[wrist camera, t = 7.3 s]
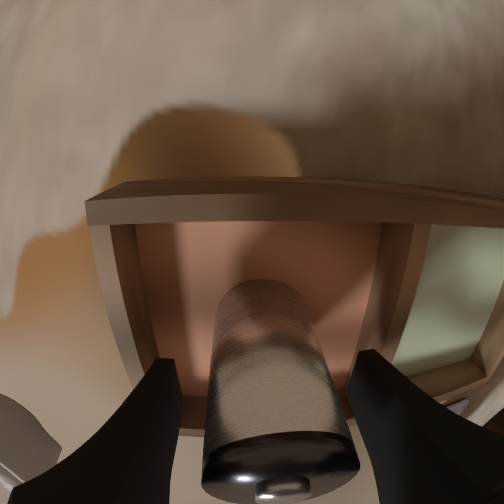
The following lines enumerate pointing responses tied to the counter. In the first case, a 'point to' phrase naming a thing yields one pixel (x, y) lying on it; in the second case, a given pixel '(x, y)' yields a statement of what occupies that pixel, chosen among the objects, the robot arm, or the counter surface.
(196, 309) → the sorting tray
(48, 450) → the lumpy-topped squat cylinder
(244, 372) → the cell
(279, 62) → the counter surface
